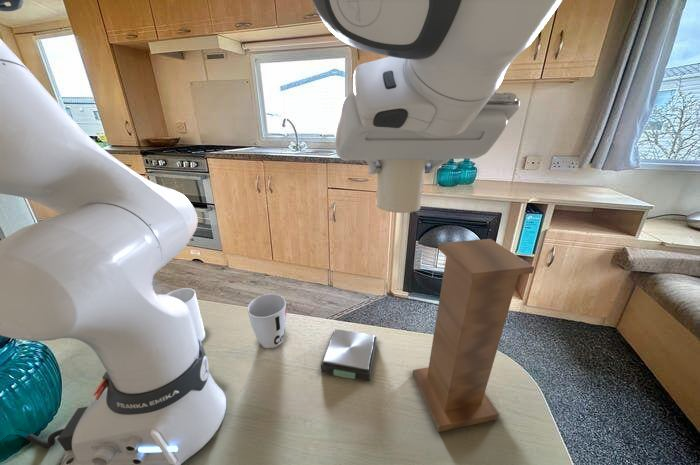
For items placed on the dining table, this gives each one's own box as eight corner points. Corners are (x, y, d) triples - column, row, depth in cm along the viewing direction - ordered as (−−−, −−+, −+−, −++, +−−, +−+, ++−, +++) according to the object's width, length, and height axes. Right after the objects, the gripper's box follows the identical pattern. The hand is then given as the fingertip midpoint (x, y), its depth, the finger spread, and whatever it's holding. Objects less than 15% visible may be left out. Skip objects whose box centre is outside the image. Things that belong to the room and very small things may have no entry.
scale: (320, 374, 56) (319, 364, 55) (334, 336, 65) (333, 327, 64) (369, 383, 54) (369, 373, 53) (376, 343, 63) (376, 334, 62)
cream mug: (383, 214, 39) (388, 139, 35) (367, 195, 47) (369, 133, 43) (428, 211, 40) (438, 139, 36) (404, 194, 48) (410, 133, 44)
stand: (438, 432, 46) (469, 278, 34) (412, 375, 56) (429, 240, 44) (497, 419, 48) (547, 270, 36) (462, 366, 58) (492, 235, 46)
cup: (280, 356, 60) (275, 320, 56) (246, 350, 61) (239, 314, 57) (294, 329, 67) (291, 296, 63) (264, 325, 69) (258, 291, 65)
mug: (185, 328, 68) (172, 287, 63) (211, 329, 67) (201, 288, 63) (157, 362, 58) (139, 317, 54) (188, 363, 58) (173, 319, 53)
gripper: (519, 73, 31) (457, 151, 44) (340, 64, 27) (329, 153, 40) (539, 117, 29) (468, 186, 42) (347, 114, 25) (333, 190, 38)
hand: (399, 170), depth 41 cm, fingers closed on cream mug, 7 cm apart
